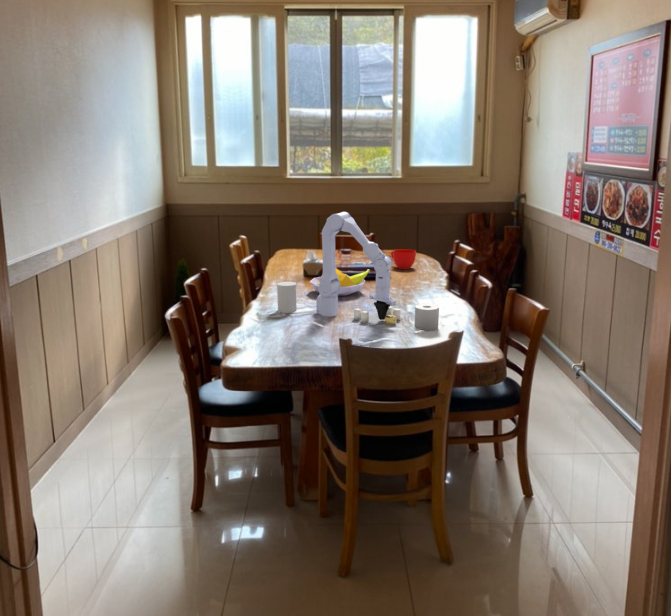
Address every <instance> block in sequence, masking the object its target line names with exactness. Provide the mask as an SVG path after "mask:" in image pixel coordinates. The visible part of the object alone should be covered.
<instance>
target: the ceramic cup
mask: <svg viewBox="0 0 671 616" xmlns="http://www.w3.org/2000/svg"><path fill="white" fill-rule="evenodd" d="M416 255H417V250H415V249H406V248H405V249H402V248H400V249H394V250H392V251H391V253H390V256H391V259H392V260H393V261H394V264H395V266H396V267H397V269H399V270H409V269H411V268H412V267H413V266H414V263H415V261H416Z"/></svg>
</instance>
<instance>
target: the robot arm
mask: <svg viewBox="0 0 671 616" xmlns="http://www.w3.org/2000/svg"><path fill="white" fill-rule="evenodd" d="M340 231H342V232H345V233H349V234H350V235H351V236H352V237H353V238H354V239H355V241H356V242H357V243H359V244H360V245H361V247H362V252H363V253H364V255H365V256H366V257H367V258H368V259H369V260H370V262H371V263H372V264H373V269H374V271H375V293H370V294H369V299H370V300H375V302H374V303H373V305H374V307H375V310H376V312H377V313H378V317H379V319H380V320H384V319H385V316H386V314H387V311H388V309H389V307H390V306H391V307H395V306H396V305H397V300H395V299H393V298H392V296H391V294H390V291H391V268H392V267H393V259H392V257H390V256H388V255H387V254H386V253H384V252H383V251H382V250H381V249H380V248H379V244H378V243H375V242H374V241H370V240H369V239H368V238H367V236H366V235H365V234H364V232H363V231H362V230H361V228H360V227H359V225H358V224H357V222H356V221H355V219H354V217H352V216H351V215H350V213H349V212H347V211H340V212H339V213H338V212H337V213H332V214H331V215H330V216H329V217H327V218H326V222H325V224H324V226H323V228H322V230H321V244H322V245H321V247H322V248H321V249H322V250H321V251H322V275H321V276H320V277H321V278H320V284H319V286H318V291H319V292H318V291H317V292H318V293H319V295H318V296H317V297H316V301H315V302H316V306H315V307H316V308H315V309H316V312H315V313H314V314H319V315H320V316H323V317H330V318H331V317H337V316H338V315H339V296H338V291H339V289H340V282H339V280H338V275H337V274H336V268H337V267H336V266H337V265H336V259H337V258H336V235H337V234H338V233H339V232H340Z"/></svg>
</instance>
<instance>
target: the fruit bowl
mask: <svg viewBox="0 0 671 616" xmlns="http://www.w3.org/2000/svg"><path fill="white" fill-rule="evenodd" d="M370 272H371V270H370V269H367V270H366V271H363V272H360V273H356V274H354V275H351V276H350V275H348V274H346V273H343V272H342V271H341V270H340V269H338V268H337V267H336V274H337V275H338V280H339V282H340V289H339V291H338V297H340V296H349V295H352V294H355V293H356V292H359V291H361V290H362V288H363V286H364V284H365V283H366V280H365V278H366V276H367V275H368V273H370ZM320 278H321V276H318V277H313V278H312V279H311V280H310V281H309V283H310V285H311V286H312V287H313V289H314V291H316V292H318V293H319V291H318V286H319V284H320Z"/></svg>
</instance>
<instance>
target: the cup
mask: <svg viewBox="0 0 671 616" xmlns="http://www.w3.org/2000/svg"><path fill="white" fill-rule="evenodd" d="M276 285H277V289H276V290H277V295H276V296H277V312H278V313H282V314H291V313H292V312H293V313H296V312H297V311H296V310H297V309H298V308H297V283H296V282H294V281H280V282H277V284H276ZM295 311H296V312H295Z"/></svg>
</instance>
